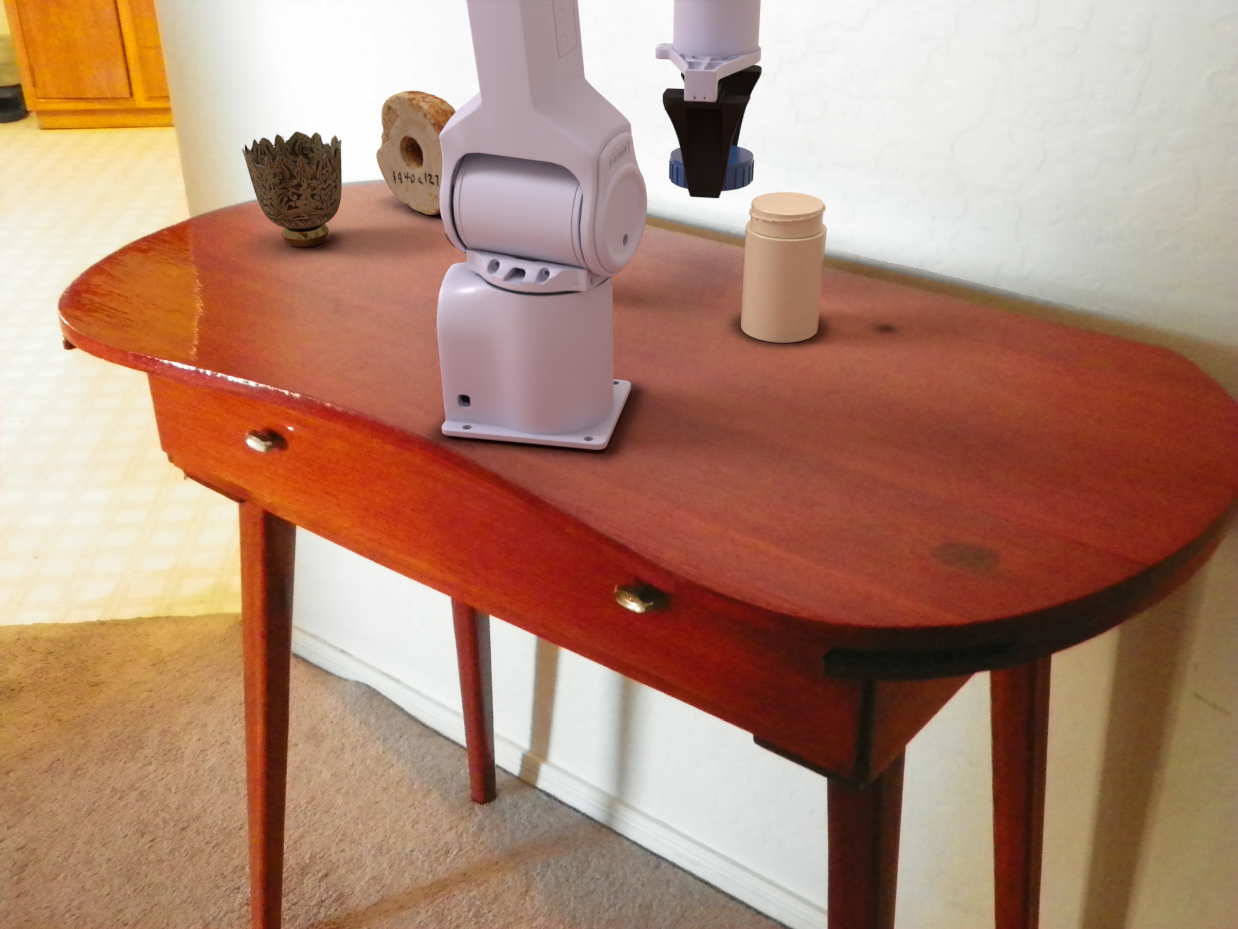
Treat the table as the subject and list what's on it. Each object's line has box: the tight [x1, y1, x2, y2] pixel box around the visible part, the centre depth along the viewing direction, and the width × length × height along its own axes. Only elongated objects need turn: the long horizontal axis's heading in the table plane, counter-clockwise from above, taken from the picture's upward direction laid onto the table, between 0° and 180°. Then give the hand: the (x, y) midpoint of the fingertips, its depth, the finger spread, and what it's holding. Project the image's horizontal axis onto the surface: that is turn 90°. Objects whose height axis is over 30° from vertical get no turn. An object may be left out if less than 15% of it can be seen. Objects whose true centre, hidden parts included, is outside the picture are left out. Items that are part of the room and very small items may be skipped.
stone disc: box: [375, 90, 457, 216], centre depth 97 cm, size 10×4×10 cm, turn 45°
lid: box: [668, 145, 755, 192], centre depth 80 cm, size 6×6×2 cm
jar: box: [740, 191, 828, 344], centre depth 75 cm, size 5×5×9 cm
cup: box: [241, 131, 343, 248], centre depth 90 cm, size 8×7×8 cm
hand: (711, 182), depth 81 cm, fingers closed on lid, 6 cm apart
